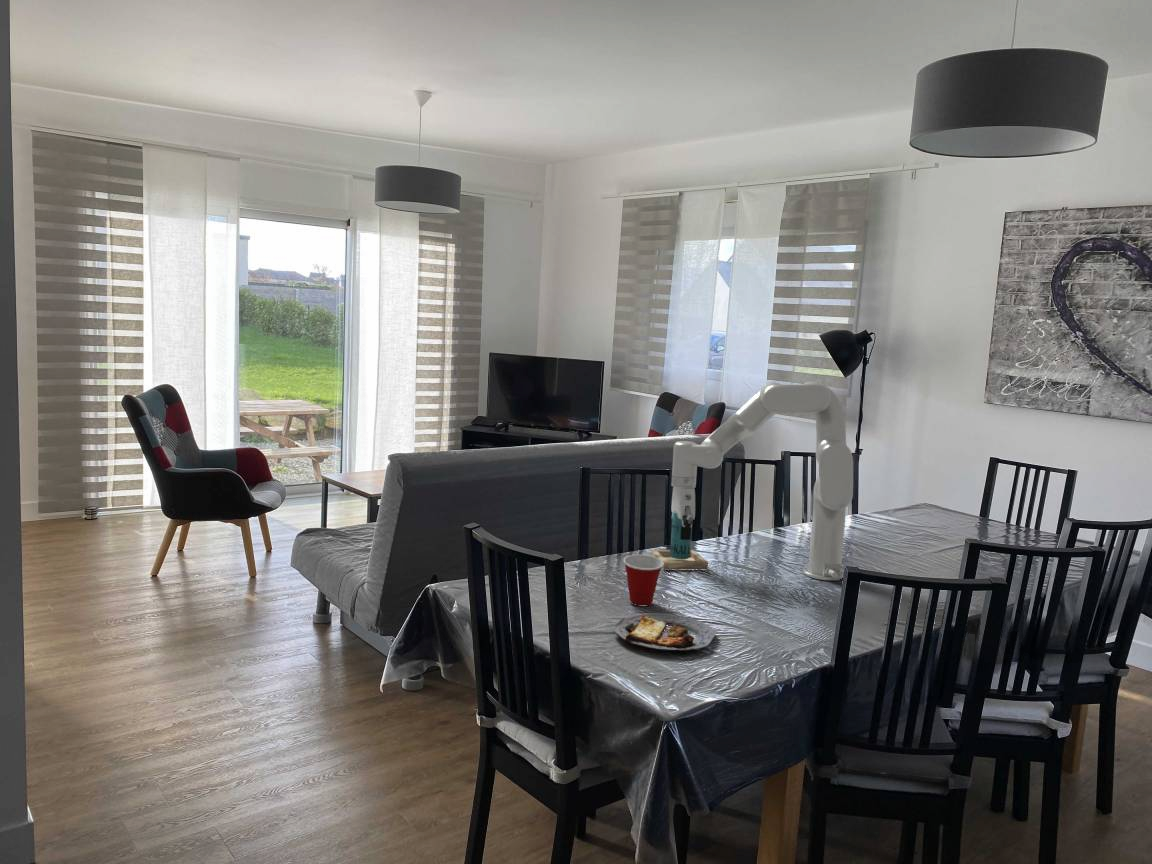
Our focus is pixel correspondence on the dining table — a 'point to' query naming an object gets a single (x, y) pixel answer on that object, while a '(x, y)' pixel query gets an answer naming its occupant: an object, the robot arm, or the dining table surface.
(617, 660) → the dining table surface
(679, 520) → the beverage bottle
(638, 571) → the plastic cup
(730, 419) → the robot arm
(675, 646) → the food plate
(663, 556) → the tray
